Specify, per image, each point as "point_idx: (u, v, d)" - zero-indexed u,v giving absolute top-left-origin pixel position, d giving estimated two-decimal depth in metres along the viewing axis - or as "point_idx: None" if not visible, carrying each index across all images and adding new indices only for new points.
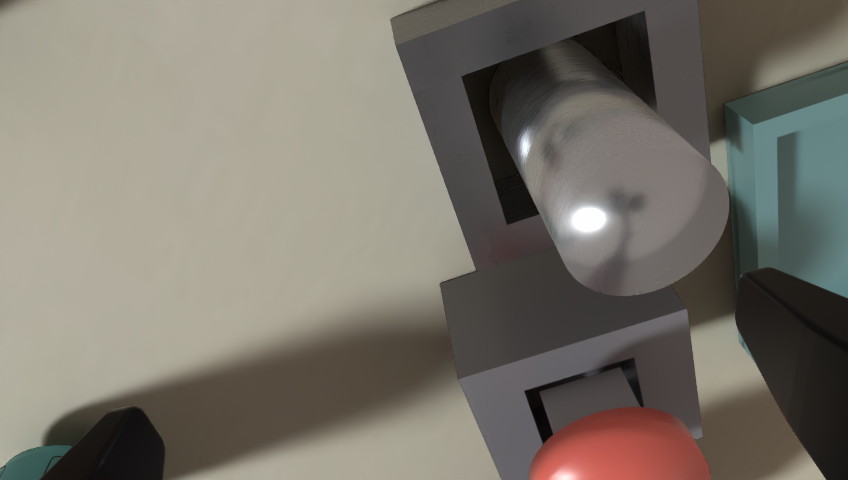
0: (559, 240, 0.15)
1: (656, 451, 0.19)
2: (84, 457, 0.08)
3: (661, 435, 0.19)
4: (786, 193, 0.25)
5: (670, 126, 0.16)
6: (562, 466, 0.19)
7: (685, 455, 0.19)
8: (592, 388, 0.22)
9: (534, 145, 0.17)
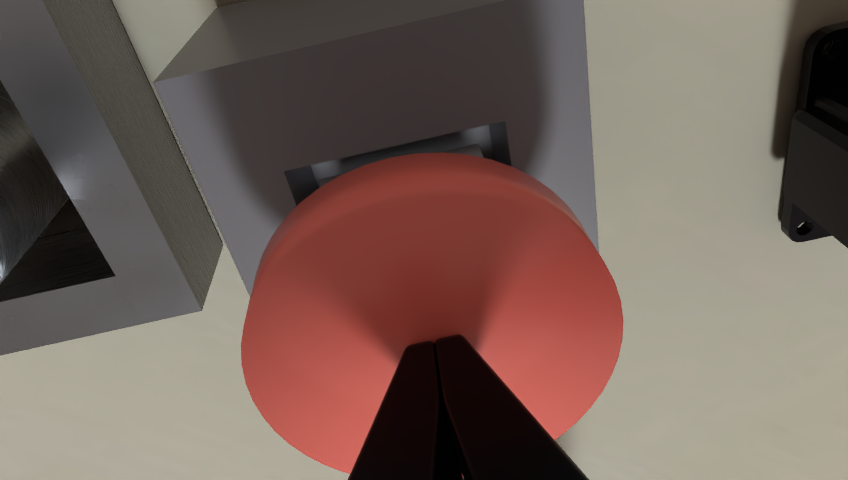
0: None
1: (290, 321, 0.09)
2: (418, 385, 0.08)
3: None
4: None
5: None
6: (314, 456, 0.10)
7: (315, 263, 0.08)
8: None
9: None
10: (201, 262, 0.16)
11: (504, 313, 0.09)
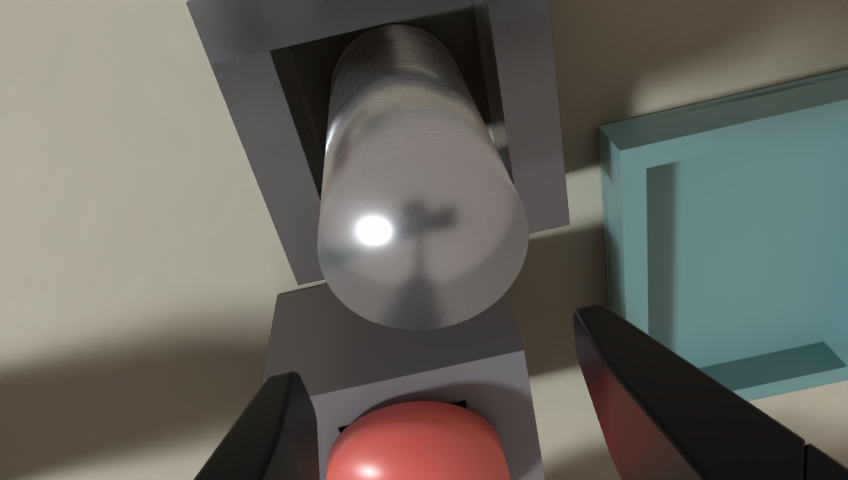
0: (318, 253, 0.12)
1: (449, 449, 0.18)
2: (264, 418, 0.08)
3: (455, 432, 0.18)
4: (663, 233, 0.23)
5: (481, 131, 0.13)
6: (348, 457, 0.18)
7: (481, 457, 0.18)
8: None
9: (330, 139, 0.14)
10: None
11: None
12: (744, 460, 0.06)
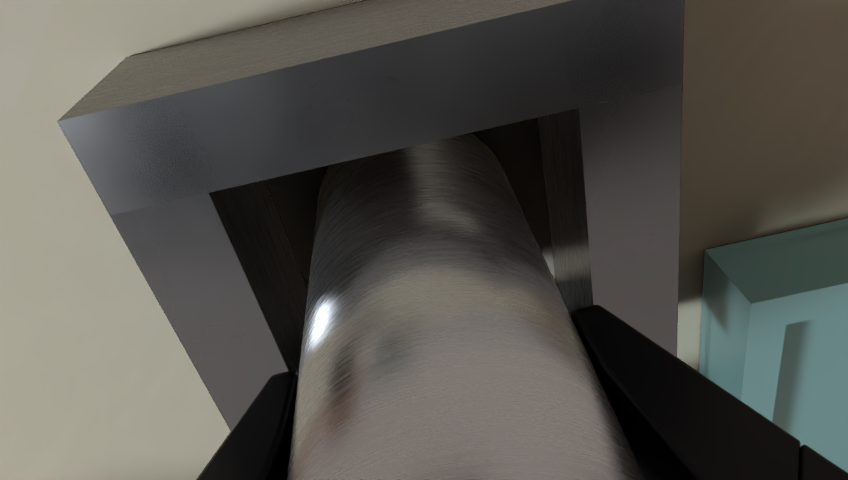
0: None
1: None
2: (266, 418, 0.08)
3: None
4: (782, 384, 0.16)
5: (595, 400, 0.07)
6: None
7: None
8: None
9: (304, 383, 0.08)
10: None
11: None
12: (739, 461, 0.06)
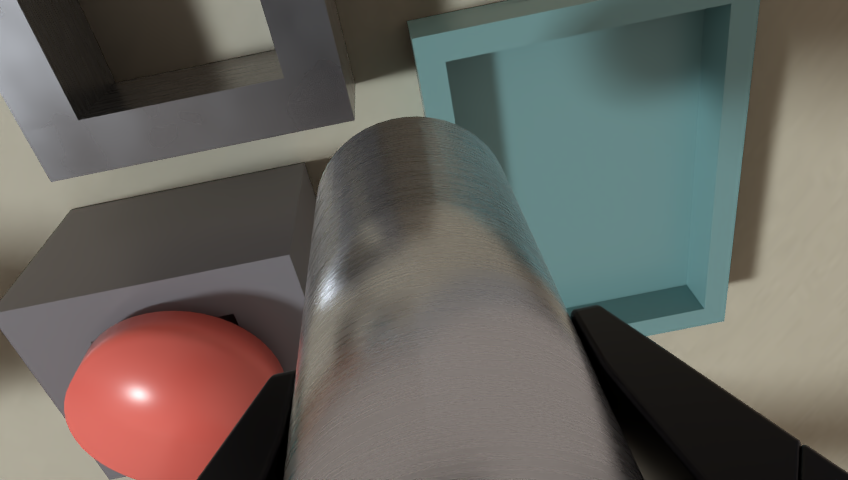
0: None
1: (198, 363, 0.16)
2: (266, 418, 0.08)
3: (203, 343, 0.16)
4: (492, 150, 0.21)
5: (593, 398, 0.07)
6: (81, 368, 0.16)
7: (238, 373, 0.16)
8: None
9: (301, 381, 0.08)
10: None
11: (213, 442, 0.17)
12: (739, 461, 0.06)
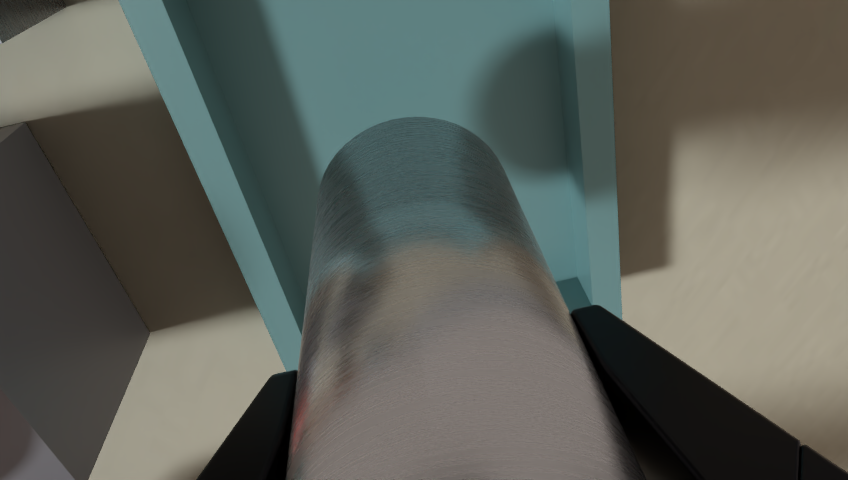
0: None
1: None
2: (266, 418, 0.08)
3: None
4: (276, 98, 0.15)
5: (595, 398, 0.07)
6: None
7: None
8: None
9: (303, 382, 0.08)
10: None
11: None
12: (739, 461, 0.06)
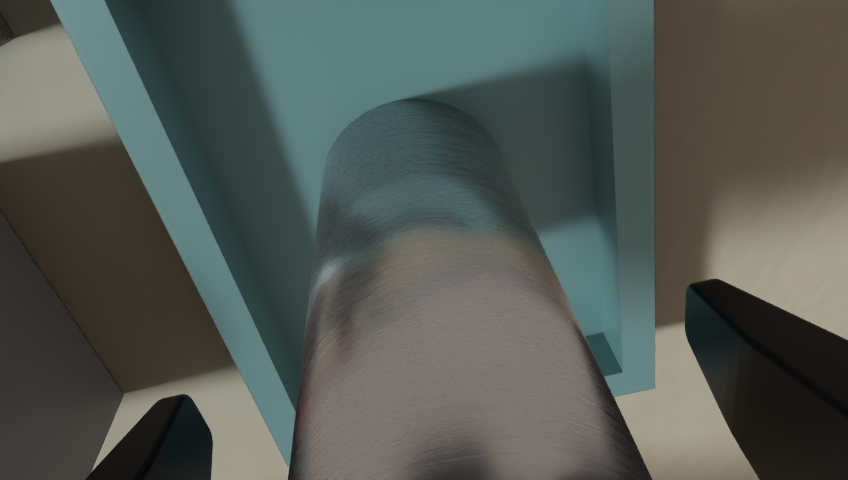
0: None
1: None
2: (140, 445, 0.08)
3: None
4: (262, 142, 0.13)
5: (573, 335, 0.07)
6: None
7: None
8: None
9: (311, 328, 0.08)
10: None
11: None
12: None
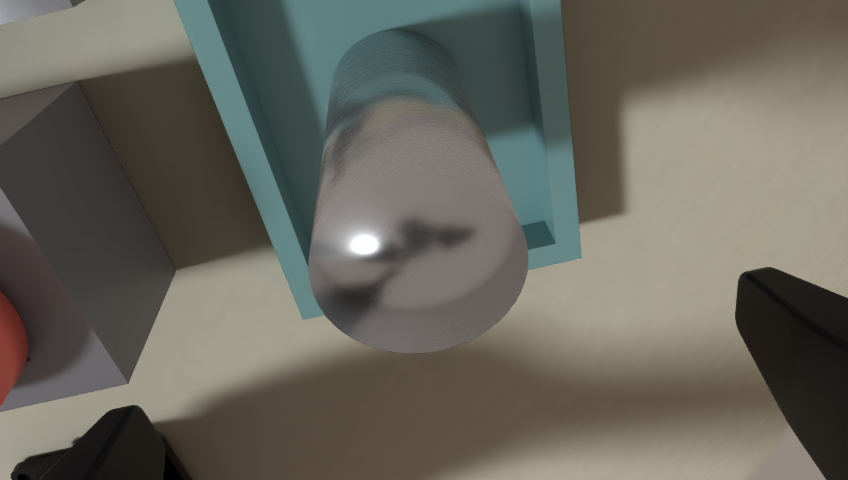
0: (309, 278, 0.11)
1: None
2: (84, 457, 0.08)
3: None
4: (287, 60, 0.18)
5: (480, 147, 0.12)
6: None
7: None
8: None
9: (325, 155, 0.13)
10: None
11: None
12: None
